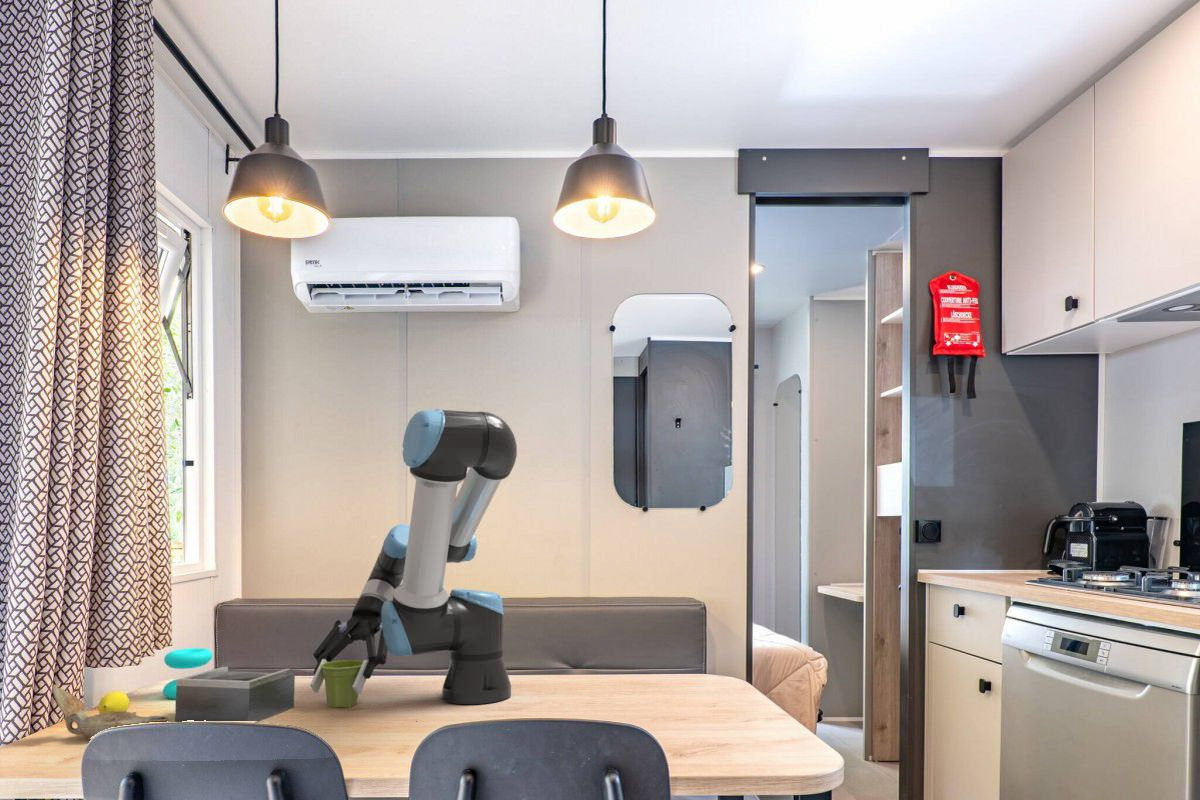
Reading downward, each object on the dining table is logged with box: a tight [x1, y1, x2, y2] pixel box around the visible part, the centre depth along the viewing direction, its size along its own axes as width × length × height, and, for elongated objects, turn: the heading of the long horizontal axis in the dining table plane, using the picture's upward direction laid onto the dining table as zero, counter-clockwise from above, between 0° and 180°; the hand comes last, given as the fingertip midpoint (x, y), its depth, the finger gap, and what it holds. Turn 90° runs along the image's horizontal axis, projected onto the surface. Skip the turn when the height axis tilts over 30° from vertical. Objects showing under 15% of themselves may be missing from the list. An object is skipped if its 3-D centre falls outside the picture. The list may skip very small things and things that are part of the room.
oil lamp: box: [52, 684, 171, 740], centre depth 157 cm, size 9×21×10 cm, turn 95°
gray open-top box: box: [174, 666, 296, 722], centre depth 173 cm, size 20×15×8 cm
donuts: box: [162, 647, 213, 700], centre depth 192 cm, size 10×10×10 cm
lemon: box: [97, 690, 130, 714], centre depth 171 cm, size 7×5×5 cm
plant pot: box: [320, 659, 364, 709], centre depth 178 cm, size 9×9×9 cm
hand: (334, 689), depth 175 cm, fingers closed on plant pot, 9 cm apart
